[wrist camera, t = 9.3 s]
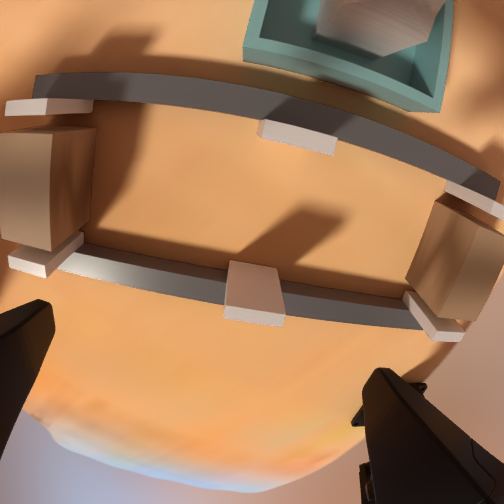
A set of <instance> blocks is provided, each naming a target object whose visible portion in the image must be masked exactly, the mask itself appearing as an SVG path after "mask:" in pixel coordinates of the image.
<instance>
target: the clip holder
mask: <svg viewBox="0 0 504 504" xmlns="http://www.w3.org/2000/svg"><path fill="white" fill-rule="evenodd" d="M94 100H106V101H125V102H139V103H150V104H160V105H169V106H178V107H186V108H193V109H200V110H207V111H213V112H219V113H225V114H231V115H236V116H241V117H247V118H252V119H256V120H260V121H259V125H258V130H257V135H258V136H259V137H260V138H261V139H266V140H271V141H275V142H279V143H284V144H288V145H292V146H296V147H300V148H304V149H308V150H312V151H316V152H320V153H323V154H327V155H331V156H333V155H334V151H335V147H336V143H337V140H340V141H343V142H346V143H349V144H353V145H356V146H359V147H362V148H365V149H368V150H371V151H374V152H377V153H380V154H383V155H386V156H388V157H391V158H394V159H397V160H399V161H402V162H405V163H407V164H410V165H412V166H415V167H418V168H420V169H423V170H425V171H427V172H430V173H432V174H435V175H437V176H439V177H442V178H444V179H446V180H447V182H446V186H445V189H444V191H445V192H448V193H450V194H452V195H454V196H456V197H458V198H460V199H462V200H464V201H466V202H468V203H470V204H472V205H474V206H476V207H478V208H480V209H482V210H483V211H485V212H487V213H489V214H491V215H493V216H495V217H497V218H499V219H501V220H503V221H504V206H503V205H501V204H500V203H498V202H496V201H495V199H496V195H497V192H498V189H499V185H500V182H501V181H499V180H497V179H496V178H494V177H492V176H491V175H489V174H487V173H485V172H484V171H482V170H480V169H478V168H476V167H475V166H473V165H471V164H469V163H467V162H465V161H463V160H461V159H459V158H457V157H455V156H453V155H451V154H449V153H447V152H445V151H443V150H441V149H439V148H437V147H435V146H433V145H431V144H428V143H426V142H424V141H422V140H419V139H417V138H415V137H413V136H410V135H408V134H405V133H403V132H401V131H398V130H396V129H393V128H391V127H388V126H385V125H383V124H380V123H377V122H375V121H372V120H369V119H366V118H364V117H361V116H358V115H355V114H352V113H349V112H346V111H343V110H339V109H336V108H333V107H330V106H326V105H323V104H320V103H316V102H312V101H309V100H305V99H301V98H298V97H294V96H290V95H286V94H281V93H277V92H273V91H268V90H264V89H259V88H254V87H249V86H244V85H238V84H232V83H227V82H220V81H214V80H207V79H199V78H191V77H183V76H173V75H161V74H147V73H126V72H81V73H60V74H47V75H36V78H35V84H34V89H33V96H32V99H25V100H12V101H6V109H5V116H20V115H52V114H70V113H92V110H93V104H94ZM8 261H9V267H10V268H13V269H16V270H19V271H22V272H26V273H29V274H32V275H36V276H39V277H43V278H47V277H48V276H49V275H50V274H51V273H52V272H53V271H54V270H55V269H58V270H62V271H66V272H70V273H74V274H78V275H82V276H86V277H90V278H94V279H98V280H102V281H107V282H111V283H115V284H120V285H124V286H129V287H133V288H138V289H143V290H147V291H152V292H157V293H162V294H167V295H172V296H177V297H182V298H187V299H193V300H198V301H203V302H209V303H214V304H220V305H224V313H223V318H225V319H231V320H237V321H243V322H249V323H256V324H263V325H269V326H277V327H282V325H283V323H284V320H285V317H286V315H289V316H296V317H304V318H311V319H319V320H327V321H335V322H343V323H352V324H361V325H370V326H380V327H391V328H402V329H414V330H424V331H425V333H426V334H427V335H428V337H429V338H430V340H431V341H444V342H461V340H462V338H463V337H464V335H465V333H466V332H465V331H464V330H463V329H462V327H461V326H460V325H459V324H458V322H457V321H456V320H455V319H449V318H440V317H437V316H436V315H435V314H434V312H433V311H432V310H431V309H430V308H429V306H428V305H427V304H426V303H425V301H424V300H423V299H422V298H421V297H420V295H419V294H418V293H417V292H412V291H405V293H404V295H403V297H402V299H395V298H388V297H381V296H375V295H368V294H362V293H355V292H349V291H343V290H336V289H330V288H324V287H318V286H312V285H306V284H300V283H294V282H288V281H282V280H279V276H278V271H277V268H272V267H267V266H261V265H256V264H250V263H245V262H239V261H234V260H230V262H229V267H228V271H225V270H219V269H214V268H208V267H203V266H198V265H192V264H187V263H182V262H176V261H171V260H166V259H161V258H156V257H151V256H145V255H140V254H135V253H130V252H125V251H120V250H115V249H111V248H106V247H101V246H96V245H91V244H86V243H84V232H81V231H76V232H75V233H73V234H72V235H71V236H70V237H68V238H67V239H66V240H65V241H63V242H62V243H61V244H60V245H59V246H57V247H56V248H55V249H54V250H53V251H47V250H43V249H39V248H35V247H31V246H27V245H24V244H22V245H21V246H19V247H18V248H17V249H15V250H14V251H13V252H11V253H10V254H9V255H8Z"/></svg>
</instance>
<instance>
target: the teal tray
mask: <svg viewBox="0 0 504 504" xmlns="http://www.w3.org/2000/svg"><path fill="white" fill-rule="evenodd" d="M319 5H320V0H255V1H254V5H253V8H252V12H251V16H250V20H249V23H248V27H247V31H246V35H245V39H244V43H243V61H244V62H250V63H255V64H260V65H265V66H269V67H274V68H278V69H283V70H287V71H291V72H295V73H299V74H302V75H306V76H310V77H313V78H317V79H320V80H324V81H327V82H330V83H333V84H337V85H340V86H343V87H346V88H349V89H352V90H354V91H357V92H360V93H363V94H366V95H368V96H371V97H374V98H376V99H379V100H381V101H384V102H386V103H389V104H391V105H394V106H396V107H398V108H401V109H403V110H405V111H408V112H428V113H440V110H441V105H442V100H443V95H444V89H445V83H446V77H447V70H448V63H449V55H450V47H451V37H452V25H453V8H454V0H447V1H446V2H445V3H444V4H443V5H442V7H441V9H440V10H439V12H438V14H437V15H436V17H435V20H434V23H433V26H432V29H431V32H430V35H429V37H428V40H427V41H426V42H423V43H420V44H417V45H414V46H411V47H408V48H405V49H403V50H400V51H397V52H394V53H392V54H389V55H386V56H384V57H381V58H379V59H376V60H370V59H367V58H365V57H362V56H360V55H357V54H354V53H351V52H349V51H346V50H343V49H340V48H337V47H334V46H331V45H327V44H324V43H321V42H318V41H314V40H312V36H313V31H314V27H315V22H316V18H317V14H318V9H319Z"/></svg>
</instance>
